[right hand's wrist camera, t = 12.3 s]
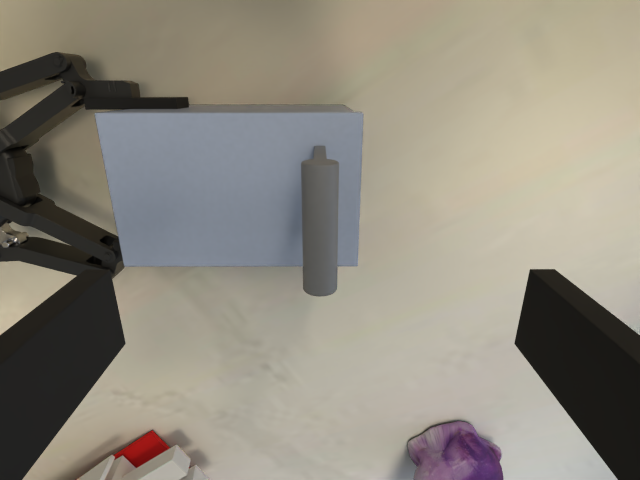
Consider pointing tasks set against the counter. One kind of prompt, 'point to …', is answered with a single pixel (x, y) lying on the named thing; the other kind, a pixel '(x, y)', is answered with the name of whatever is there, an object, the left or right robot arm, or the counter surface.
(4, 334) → the right robot arm
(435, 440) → the figurine
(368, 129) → the counter surface
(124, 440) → the counter surface
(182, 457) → the toy
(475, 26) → the counter surface
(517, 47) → the counter surface
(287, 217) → the lid
